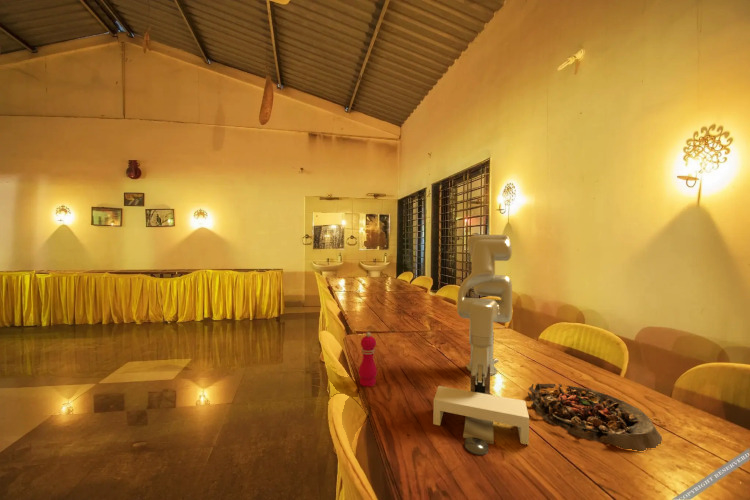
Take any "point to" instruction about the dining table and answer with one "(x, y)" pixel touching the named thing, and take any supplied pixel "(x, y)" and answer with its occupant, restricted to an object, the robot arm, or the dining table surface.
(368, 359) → the pepper mill
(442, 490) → the dining table surface
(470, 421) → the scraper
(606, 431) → the food dish
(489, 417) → the cream footstool
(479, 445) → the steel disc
